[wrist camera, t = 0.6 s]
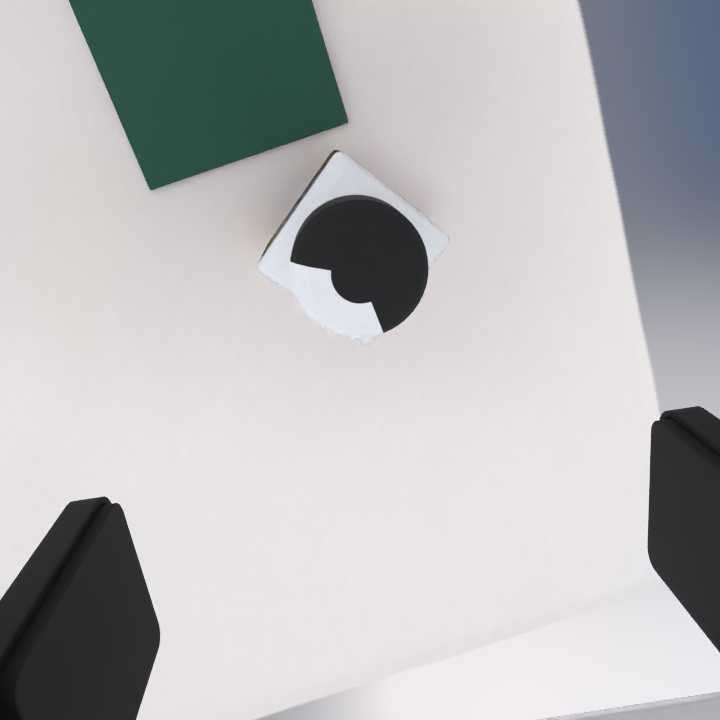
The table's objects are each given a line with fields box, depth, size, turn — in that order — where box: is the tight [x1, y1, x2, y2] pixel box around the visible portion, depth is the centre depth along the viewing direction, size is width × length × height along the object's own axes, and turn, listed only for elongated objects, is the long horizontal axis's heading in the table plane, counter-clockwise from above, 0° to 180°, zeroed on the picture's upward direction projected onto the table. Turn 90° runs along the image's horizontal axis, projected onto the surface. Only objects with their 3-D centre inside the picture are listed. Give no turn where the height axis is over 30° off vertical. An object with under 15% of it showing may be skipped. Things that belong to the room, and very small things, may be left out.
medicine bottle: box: [257, 150, 450, 345], centre depth 31 cm, size 7×7×12 cm
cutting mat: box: [69, 0, 348, 190], centre depth 32 cm, size 14×12×1 cm
